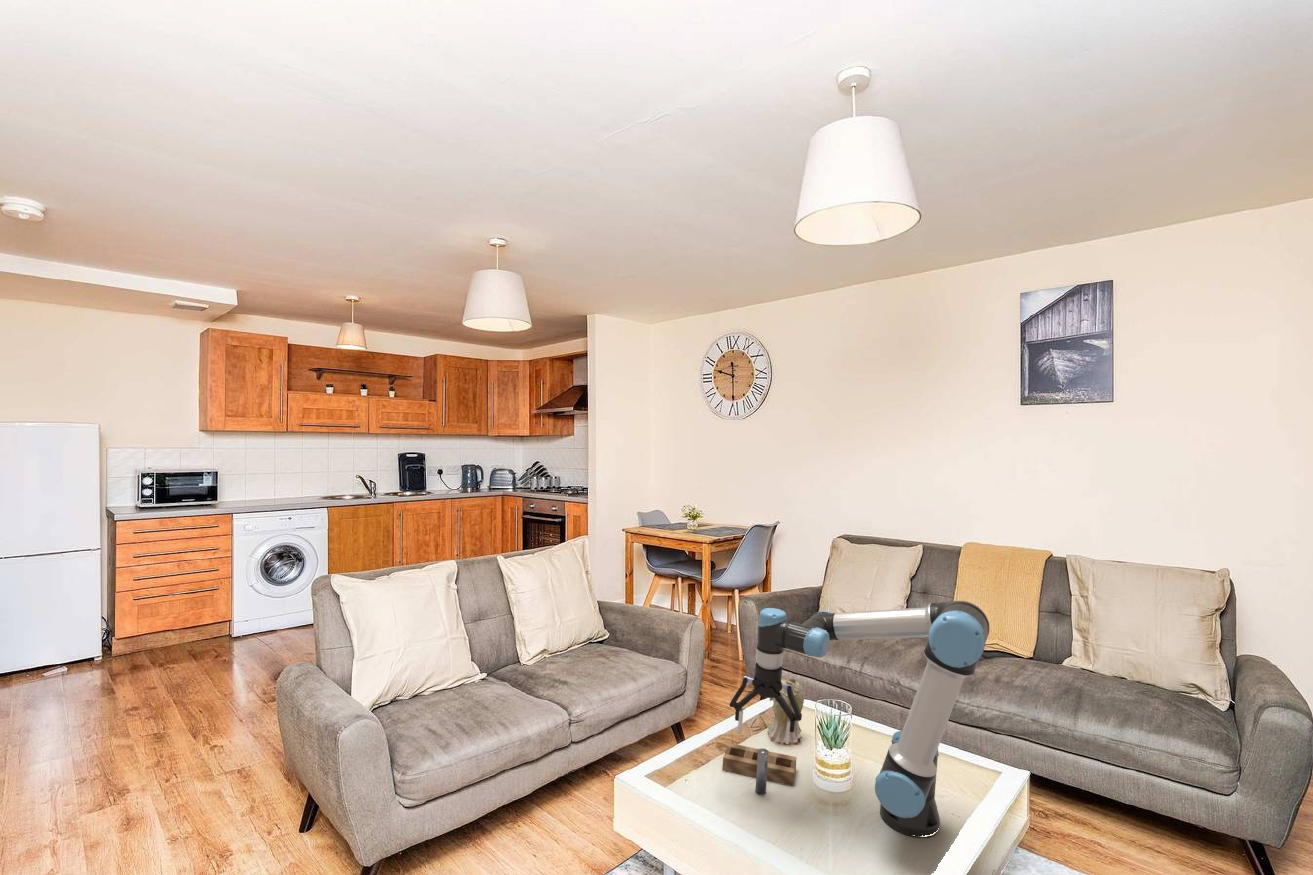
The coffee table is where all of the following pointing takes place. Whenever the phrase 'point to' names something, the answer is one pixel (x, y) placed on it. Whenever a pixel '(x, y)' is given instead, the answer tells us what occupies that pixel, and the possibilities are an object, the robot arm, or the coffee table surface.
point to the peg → (761, 771)
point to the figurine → (786, 717)
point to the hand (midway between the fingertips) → (763, 736)
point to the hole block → (746, 764)
